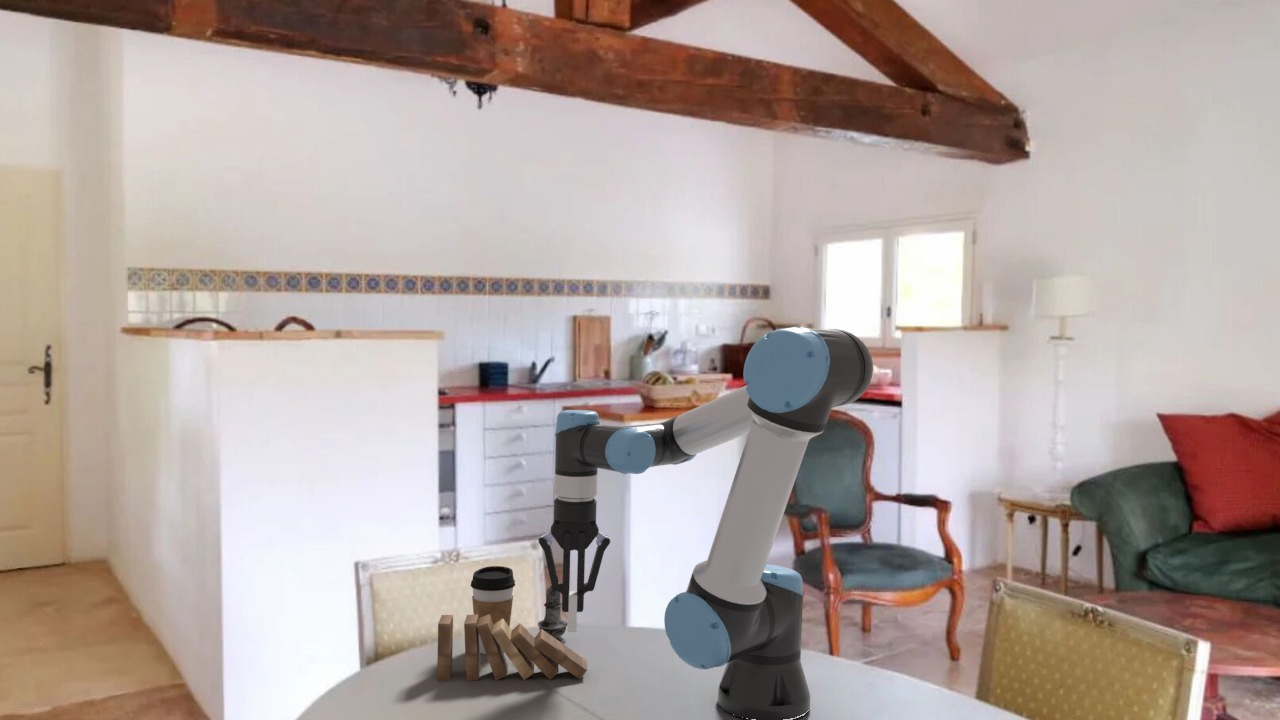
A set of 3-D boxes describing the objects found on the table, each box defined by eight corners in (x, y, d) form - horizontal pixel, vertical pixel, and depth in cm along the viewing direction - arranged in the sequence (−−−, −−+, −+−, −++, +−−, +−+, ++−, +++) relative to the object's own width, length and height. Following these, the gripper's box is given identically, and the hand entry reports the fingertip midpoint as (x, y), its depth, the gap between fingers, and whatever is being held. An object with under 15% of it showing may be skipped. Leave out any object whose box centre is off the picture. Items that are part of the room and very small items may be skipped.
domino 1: (452, 670, 168) (453, 614, 167) (448, 680, 163) (449, 623, 162) (440, 670, 168) (441, 614, 167) (437, 680, 163) (438, 623, 162)
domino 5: (586, 660, 170) (541, 628, 169) (586, 670, 165) (540, 637, 164) (579, 669, 170) (534, 637, 169) (580, 679, 165) (534, 647, 164)
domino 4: (558, 661, 169) (519, 622, 169) (558, 671, 164) (518, 631, 164) (550, 669, 169) (511, 630, 169) (550, 679, 164) (510, 639, 164)
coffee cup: (520, 644, 182) (522, 567, 182) (502, 659, 174) (504, 578, 174) (481, 639, 184) (482, 564, 184) (461, 653, 176) (463, 574, 176)
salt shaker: (569, 637, 187) (571, 578, 187) (564, 647, 181) (565, 585, 181) (540, 636, 188) (541, 576, 187) (534, 645, 182) (535, 584, 181)
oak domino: (534, 663, 169) (502, 618, 168) (533, 673, 164) (501, 627, 163) (525, 669, 169) (493, 624, 168) (524, 680, 164) (491, 633, 163)
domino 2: (480, 669, 168) (478, 614, 168) (478, 679, 163) (475, 623, 163) (469, 670, 168) (466, 614, 168) (466, 680, 163) (464, 623, 163)
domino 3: (508, 665, 169) (489, 614, 168) (506, 676, 164) (487, 622, 163) (497, 669, 169) (479, 618, 168) (495, 680, 164) (476, 626, 163)
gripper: (611, 494, 171) (607, 623, 171) (538, 493, 170) (535, 622, 170) (613, 502, 163) (609, 636, 164) (537, 501, 162) (534, 636, 163)
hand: (572, 629), depth 167 cm, fingers closed
